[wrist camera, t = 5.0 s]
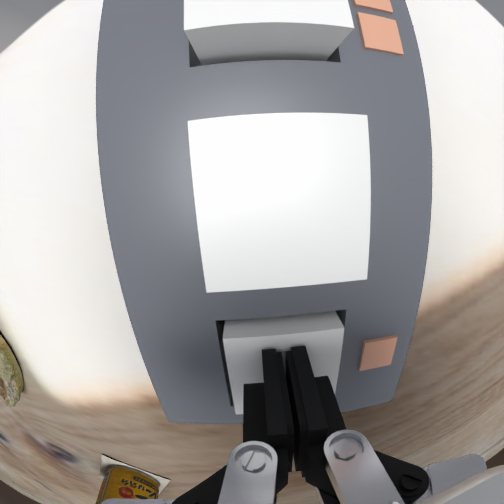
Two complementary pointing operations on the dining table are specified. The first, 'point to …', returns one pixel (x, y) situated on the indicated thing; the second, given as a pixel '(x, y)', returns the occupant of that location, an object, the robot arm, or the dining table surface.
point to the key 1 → (265, 29)
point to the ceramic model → (9, 376)
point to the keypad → (183, 204)
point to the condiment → (127, 482)
